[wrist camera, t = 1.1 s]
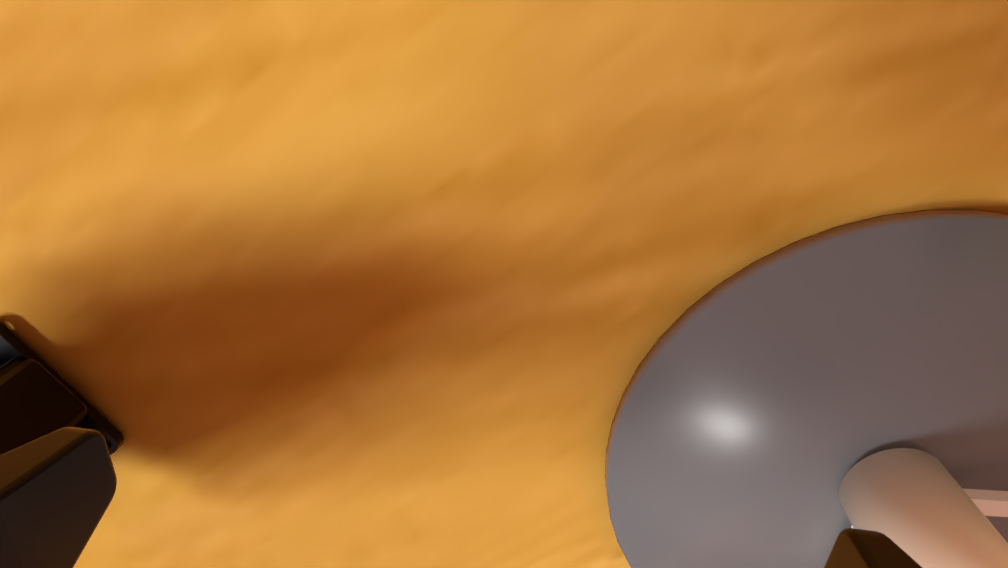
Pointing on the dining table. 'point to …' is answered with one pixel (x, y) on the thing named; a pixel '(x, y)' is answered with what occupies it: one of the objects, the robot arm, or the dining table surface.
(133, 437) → the dining table surface
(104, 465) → the robot arm
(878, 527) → the peg key
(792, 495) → the tuner plate
